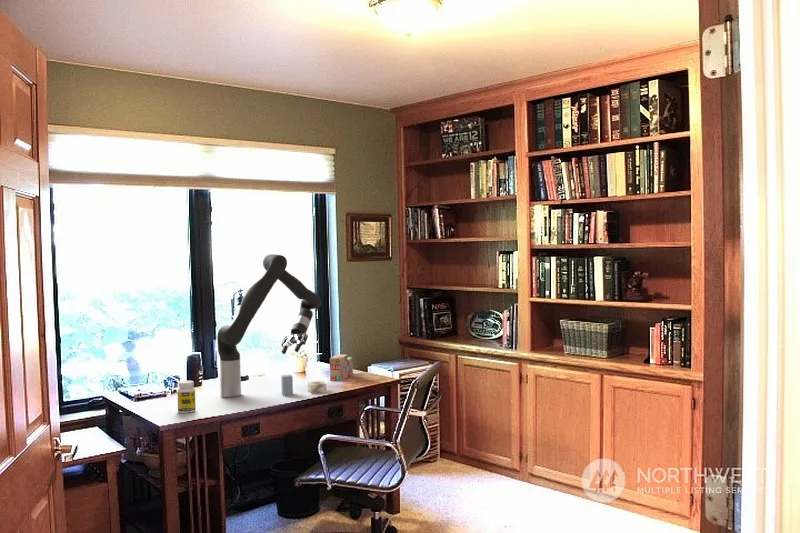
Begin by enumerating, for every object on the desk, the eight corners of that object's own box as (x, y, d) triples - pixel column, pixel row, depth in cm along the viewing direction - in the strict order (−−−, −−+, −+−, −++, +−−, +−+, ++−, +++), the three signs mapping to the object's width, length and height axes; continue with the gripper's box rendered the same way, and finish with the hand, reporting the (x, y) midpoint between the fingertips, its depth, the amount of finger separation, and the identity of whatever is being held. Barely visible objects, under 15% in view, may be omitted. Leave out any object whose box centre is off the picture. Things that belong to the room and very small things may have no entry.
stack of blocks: (342, 373, 362) (341, 351, 361) (353, 373, 360) (352, 351, 360) (330, 381, 341) (329, 357, 340) (341, 381, 339) (340, 358, 339)
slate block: (283, 396, 307) (282, 377, 307) (281, 394, 311) (281, 375, 311) (292, 395, 309) (292, 376, 308) (291, 393, 313) (290, 374, 313)
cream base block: (311, 394, 310) (310, 385, 310) (308, 391, 317) (307, 382, 317) (326, 393, 313) (326, 383, 313) (323, 390, 320) (323, 381, 320)
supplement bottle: (181, 414, 276) (180, 384, 276) (175, 411, 282) (174, 381, 281) (198, 411, 280) (197, 381, 280) (192, 408, 286) (191, 379, 286)
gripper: (285, 324, 335) (274, 349, 324) (307, 320, 327) (296, 345, 317) (294, 333, 339) (283, 358, 328) (315, 329, 332) (304, 355, 321)
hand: (289, 352), depth 322 cm, fingers open, 8 cm apart
